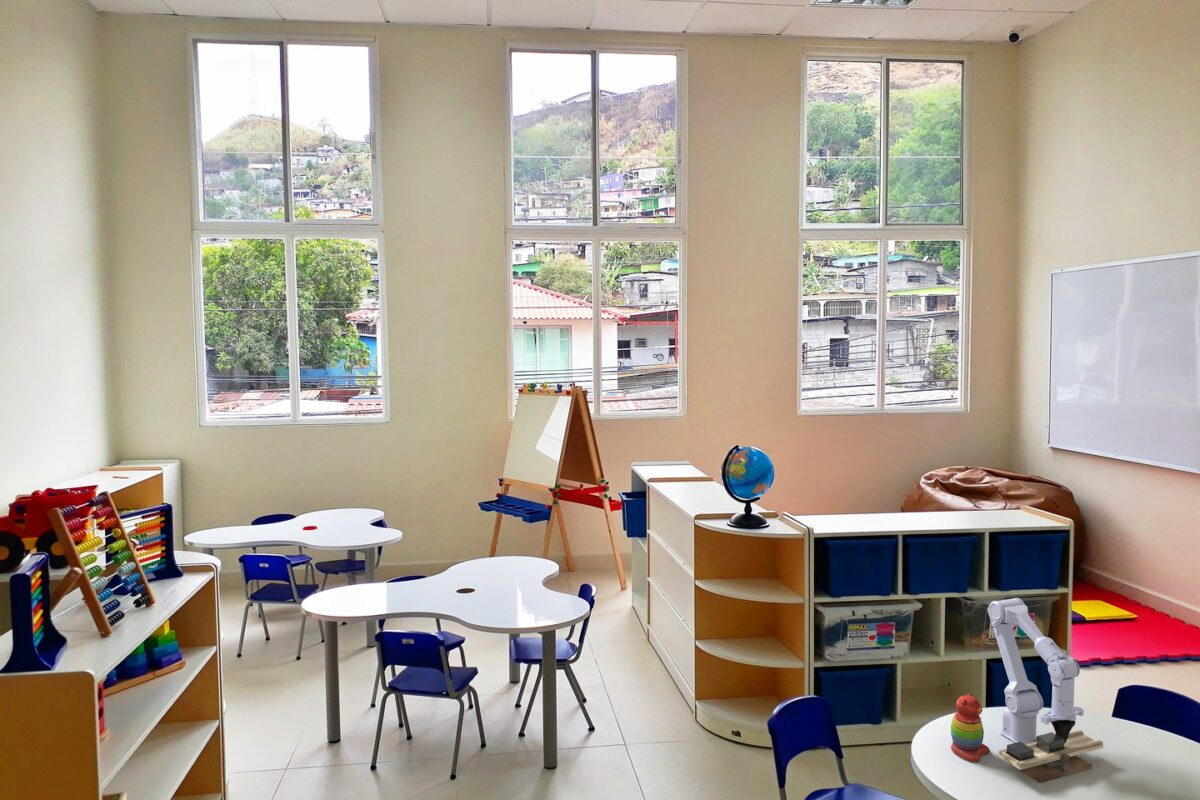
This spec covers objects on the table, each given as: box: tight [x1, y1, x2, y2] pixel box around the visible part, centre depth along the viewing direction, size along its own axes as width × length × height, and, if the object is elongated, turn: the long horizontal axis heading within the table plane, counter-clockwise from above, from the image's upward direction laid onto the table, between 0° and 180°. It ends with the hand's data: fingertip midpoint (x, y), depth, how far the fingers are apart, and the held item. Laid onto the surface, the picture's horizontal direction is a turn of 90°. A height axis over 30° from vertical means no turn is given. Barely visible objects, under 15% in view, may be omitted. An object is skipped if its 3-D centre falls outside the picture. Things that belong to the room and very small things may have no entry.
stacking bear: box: [950, 693, 991, 763], centre depth 262 cm, size 11×10×18 cm
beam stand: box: [1009, 739, 1093, 784], centre depth 253 cm, size 11×20×6 cm, turn 110°
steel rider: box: [1036, 731, 1065, 754], centre depth 253 cm, size 4×6×4 cm
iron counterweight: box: [1006, 742, 1034, 761], centre depth 249 cm, size 5×5×3 cm
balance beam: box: [998, 730, 1104, 771], centre depth 253 cm, size 8×32×2 cm, turn 110°
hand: (1061, 741), depth 254 cm, fingers closed
